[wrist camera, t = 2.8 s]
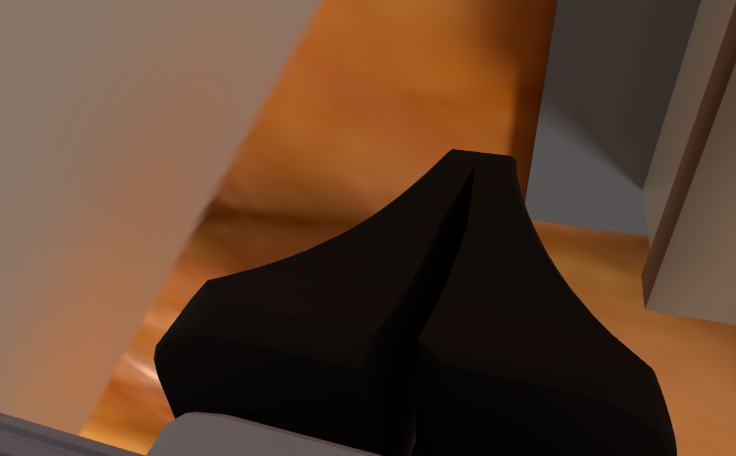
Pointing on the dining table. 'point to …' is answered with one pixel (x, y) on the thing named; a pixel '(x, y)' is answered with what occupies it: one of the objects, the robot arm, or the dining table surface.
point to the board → (605, 109)
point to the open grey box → (684, 106)
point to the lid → (701, 210)
